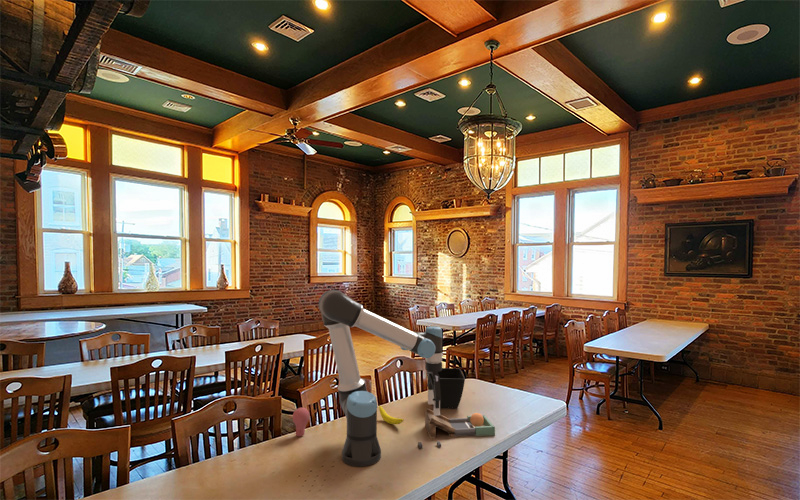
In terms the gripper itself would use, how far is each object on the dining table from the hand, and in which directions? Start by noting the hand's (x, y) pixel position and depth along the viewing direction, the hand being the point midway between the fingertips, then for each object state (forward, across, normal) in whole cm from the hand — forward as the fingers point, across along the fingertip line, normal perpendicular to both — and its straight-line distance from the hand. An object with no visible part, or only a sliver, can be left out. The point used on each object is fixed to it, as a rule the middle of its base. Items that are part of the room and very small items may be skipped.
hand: (433, 409), depth 174 cm
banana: (+10, +10, +18) cm, 23 cm away
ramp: (+10, 0, -3) cm, 10 cm away
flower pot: (+10, +32, -12) cm, 36 cm away
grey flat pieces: (+10, -14, +4) cm, 18 cm away
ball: (+5, 0, -20) cm, 21 cm away
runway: (+10, 0, -13) cm, 16 cm away
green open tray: (+10, 0, -22) cm, 24 cm away
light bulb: (+10, +1, +58) cm, 59 cm away
